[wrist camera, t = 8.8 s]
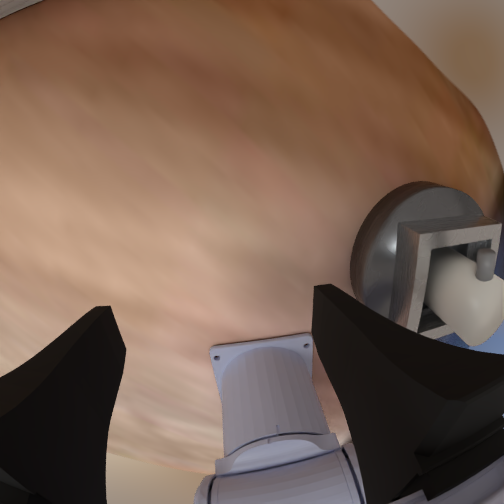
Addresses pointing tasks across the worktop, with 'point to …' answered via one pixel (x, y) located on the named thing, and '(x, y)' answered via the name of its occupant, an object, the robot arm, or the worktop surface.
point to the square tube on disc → (415, 250)
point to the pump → (466, 293)
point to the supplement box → (14, 6)
